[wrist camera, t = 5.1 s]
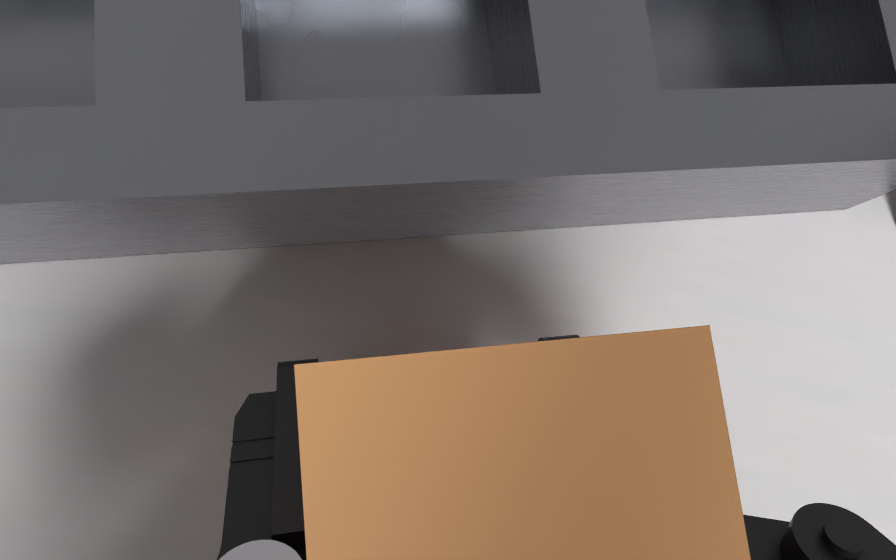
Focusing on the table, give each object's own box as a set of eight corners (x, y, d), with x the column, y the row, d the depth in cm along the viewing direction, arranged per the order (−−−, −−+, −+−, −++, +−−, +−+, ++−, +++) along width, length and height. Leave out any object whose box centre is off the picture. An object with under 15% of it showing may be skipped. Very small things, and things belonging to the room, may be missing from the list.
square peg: (325, 392, 17) (294, 364, 6) (484, 375, 17) (708, 325, 7) (337, 565, 16) (327, 883, 5) (503, 541, 17) (788, 775, 6)
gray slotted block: (782, -79, 22) (891, -200, 18) (845, 209, 20) (984, 154, 16) (-179, -99, 17) (-360, -273, 13) (-206, 277, 15) (-424, 225, 11)
